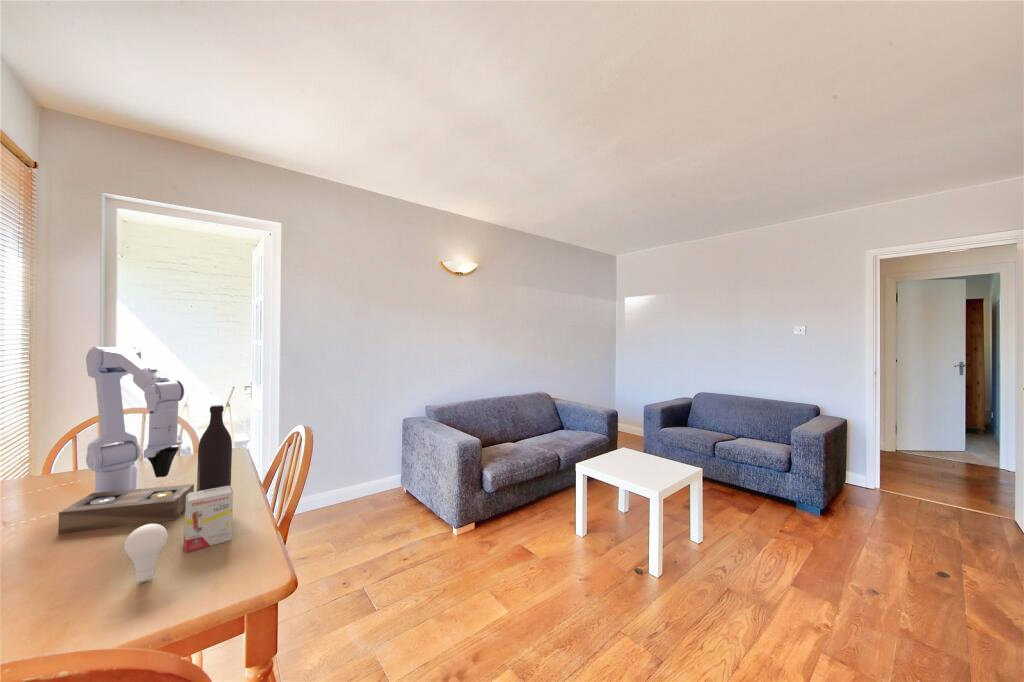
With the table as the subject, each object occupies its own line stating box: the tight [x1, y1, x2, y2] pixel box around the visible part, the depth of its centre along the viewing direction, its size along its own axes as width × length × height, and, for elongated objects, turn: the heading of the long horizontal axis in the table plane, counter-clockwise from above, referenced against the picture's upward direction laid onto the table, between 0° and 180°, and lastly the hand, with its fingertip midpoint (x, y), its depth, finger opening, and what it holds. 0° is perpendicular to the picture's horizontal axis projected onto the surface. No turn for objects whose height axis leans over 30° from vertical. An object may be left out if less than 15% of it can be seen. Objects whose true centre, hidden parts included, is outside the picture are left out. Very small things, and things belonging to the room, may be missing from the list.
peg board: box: [57, 483, 195, 534], centre depth 100 cm, size 12×22×5 cm, turn 111°
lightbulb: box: [124, 523, 169, 583], centre depth 74 cm, size 6×6×11 cm
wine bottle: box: [196, 404, 233, 491], centre depth 99 cm, size 7×7×30 cm
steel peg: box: [90, 497, 115, 505], centre depth 97 cm, size 4×4×5 cm
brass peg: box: [150, 491, 173, 499], centre depth 102 cm, size 4×4×5 cm
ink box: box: [183, 485, 234, 553], centre depth 88 cm, size 9×5×12 cm, turn 133°
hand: (161, 476), depth 102 cm, fingers closed
